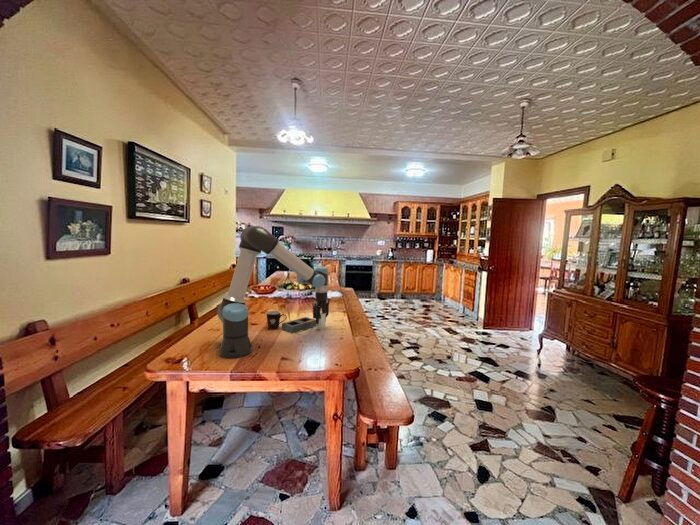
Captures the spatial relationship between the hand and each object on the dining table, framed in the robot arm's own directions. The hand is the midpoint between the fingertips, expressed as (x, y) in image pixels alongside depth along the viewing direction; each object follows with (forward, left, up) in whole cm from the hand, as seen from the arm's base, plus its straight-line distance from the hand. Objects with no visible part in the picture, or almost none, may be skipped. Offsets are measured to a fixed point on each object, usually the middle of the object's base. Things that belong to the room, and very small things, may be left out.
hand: (320, 327), depth 185 cm
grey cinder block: (-8, +11, -1) cm, 14 cm away
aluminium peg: (0, 0, -1) cm, 1 cm away
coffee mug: (-19, +21, -1) cm, 28 cm away
